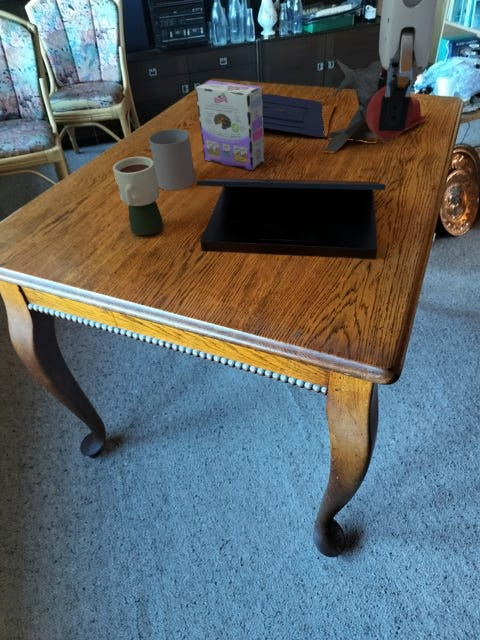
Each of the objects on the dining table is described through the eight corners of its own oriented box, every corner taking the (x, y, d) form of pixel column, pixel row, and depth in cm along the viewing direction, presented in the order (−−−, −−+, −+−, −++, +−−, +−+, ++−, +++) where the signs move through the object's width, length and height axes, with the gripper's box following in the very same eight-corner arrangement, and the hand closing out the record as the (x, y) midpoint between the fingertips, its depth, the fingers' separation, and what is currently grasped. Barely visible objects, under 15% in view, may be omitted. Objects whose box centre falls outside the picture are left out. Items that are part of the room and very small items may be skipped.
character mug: (138, 215, 94) (123, 151, 85) (172, 215, 93) (160, 151, 84) (121, 245, 86) (102, 179, 77) (159, 246, 85) (144, 179, 76)
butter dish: (363, 126, 120) (367, 90, 114) (389, 113, 126) (394, 79, 120) (402, 137, 114) (408, 100, 108) (428, 123, 119) (435, 87, 113)
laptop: (375, 259, 78) (377, 248, 76) (201, 250, 83) (200, 240, 81) (372, 195, 94) (373, 185, 92) (225, 191, 99) (224, 182, 97)
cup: (176, 194, 99) (169, 147, 92) (149, 184, 103) (140, 140, 96) (202, 178, 104) (197, 133, 97) (175, 170, 108) (168, 126, 101)
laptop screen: (385, 190, 72) (386, 184, 71) (196, 186, 77) (196, 180, 76) (373, 186, 92) (373, 181, 92) (224, 182, 97) (224, 178, 97)
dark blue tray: (233, 99, 138) (234, 86, 136) (334, 114, 134) (337, 101, 131) (210, 131, 121) (210, 116, 118) (325, 149, 117) (327, 134, 114)
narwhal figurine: (389, 158, 106) (403, 71, 93) (322, 152, 110) (327, 68, 98) (395, 133, 115) (409, 52, 103) (334, 129, 120) (339, 51, 107)
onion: (367, 131, 66) (375, 69, 60) (410, 135, 64) (421, 71, 58) (359, 148, 62) (366, 83, 56) (404, 152, 60) (416, 85, 54)
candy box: (265, 161, 108) (263, 85, 97) (252, 171, 105) (248, 94, 94) (217, 151, 114) (210, 78, 103) (203, 160, 111) (194, 86, 100)
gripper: (470, -51, 42) (428, 147, 54) (440, -66, 54) (411, 97, 66) (383, -46, 43) (361, 147, 55) (373, -62, 55) (357, 98, 68)
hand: (389, 118), depth 61 cm, fingers closed on onion, 6 cm apart
